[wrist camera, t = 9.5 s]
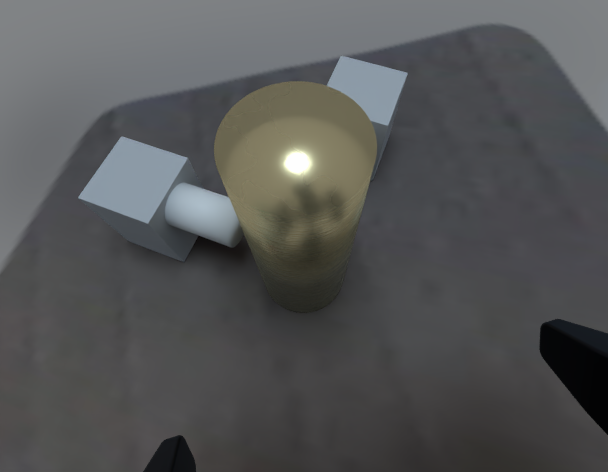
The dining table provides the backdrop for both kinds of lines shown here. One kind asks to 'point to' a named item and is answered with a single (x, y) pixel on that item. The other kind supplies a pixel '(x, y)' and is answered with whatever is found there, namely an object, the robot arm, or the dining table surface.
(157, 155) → the shaft on bearing block
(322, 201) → the olive pillar candle
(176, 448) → the robot arm
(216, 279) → the dining table surface
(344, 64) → the shaft on bearing block
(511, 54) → the dining table surface
